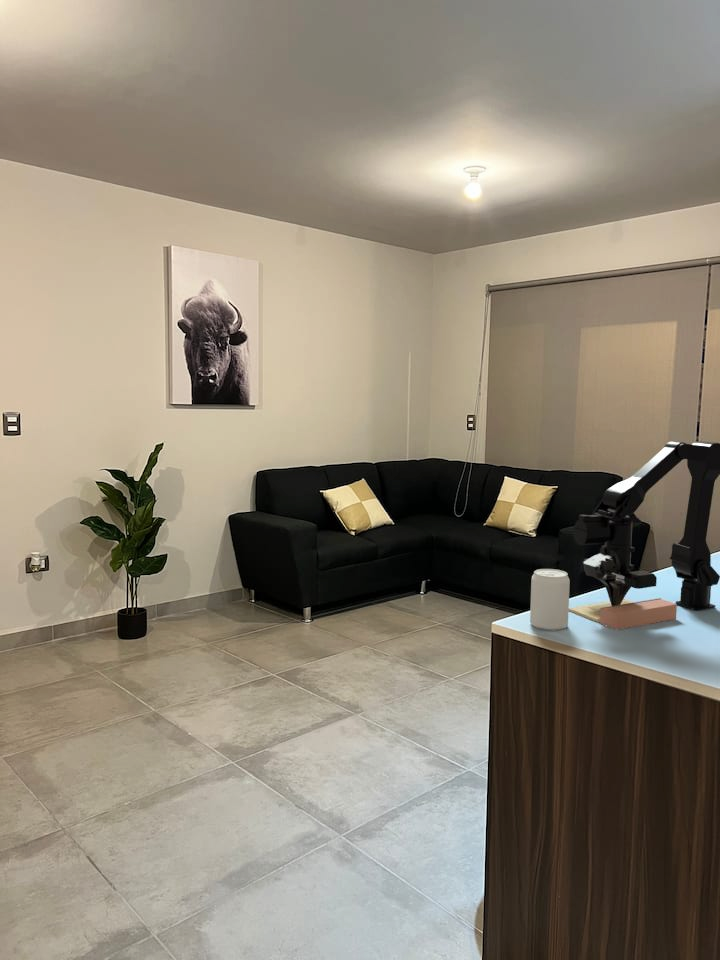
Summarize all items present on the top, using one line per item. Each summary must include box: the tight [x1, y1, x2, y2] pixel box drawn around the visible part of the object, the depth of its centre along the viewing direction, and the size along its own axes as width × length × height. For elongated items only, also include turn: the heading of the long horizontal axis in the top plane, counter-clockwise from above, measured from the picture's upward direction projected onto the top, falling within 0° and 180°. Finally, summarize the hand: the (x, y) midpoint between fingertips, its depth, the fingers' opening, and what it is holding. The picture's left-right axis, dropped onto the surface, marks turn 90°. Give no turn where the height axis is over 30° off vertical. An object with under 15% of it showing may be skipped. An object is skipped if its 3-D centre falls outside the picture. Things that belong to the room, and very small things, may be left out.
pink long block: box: [599, 597, 678, 630], centre depth 165 cm, size 18×5×4 cm, turn 115°
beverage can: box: [529, 568, 571, 631], centre depth 161 cm, size 8×8×12 cm
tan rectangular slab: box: [568, 598, 635, 623], centre depth 172 cm, size 18×10×1 cm, turn 115°
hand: (615, 608), depth 171 cm, fingers closed
